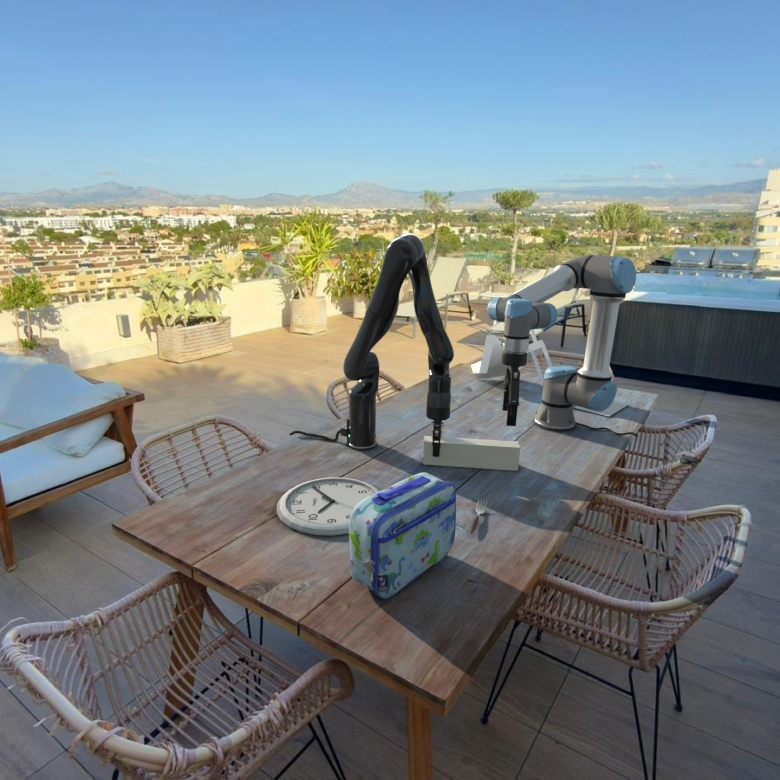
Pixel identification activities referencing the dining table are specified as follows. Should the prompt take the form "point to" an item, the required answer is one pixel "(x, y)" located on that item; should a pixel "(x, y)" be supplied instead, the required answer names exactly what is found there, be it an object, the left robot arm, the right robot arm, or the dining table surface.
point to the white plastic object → (493, 354)
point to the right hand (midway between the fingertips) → (508, 417)
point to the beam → (473, 453)
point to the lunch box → (401, 532)
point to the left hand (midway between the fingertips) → (436, 452)
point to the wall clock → (323, 505)
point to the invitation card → (609, 411)
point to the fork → (479, 511)
